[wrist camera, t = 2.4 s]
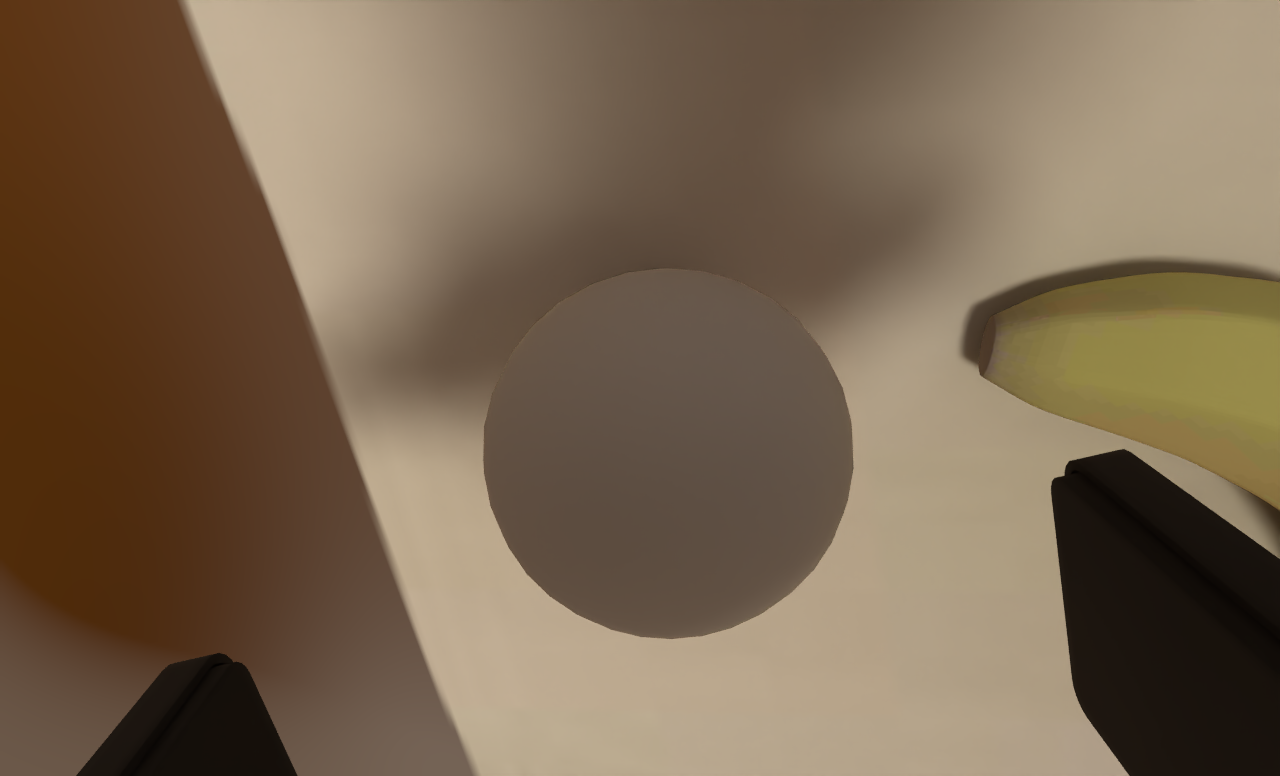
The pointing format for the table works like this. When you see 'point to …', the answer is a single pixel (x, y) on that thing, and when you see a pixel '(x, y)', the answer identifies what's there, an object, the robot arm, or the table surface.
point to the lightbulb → (668, 453)
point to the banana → (1155, 366)
